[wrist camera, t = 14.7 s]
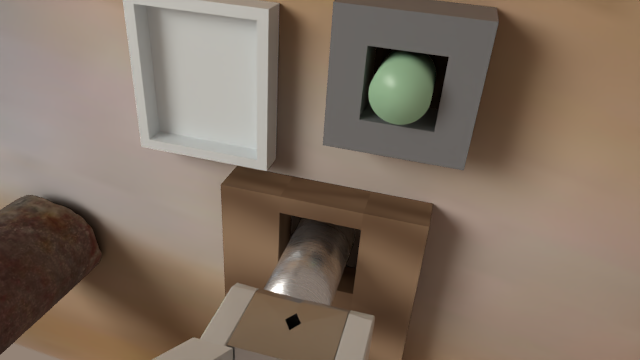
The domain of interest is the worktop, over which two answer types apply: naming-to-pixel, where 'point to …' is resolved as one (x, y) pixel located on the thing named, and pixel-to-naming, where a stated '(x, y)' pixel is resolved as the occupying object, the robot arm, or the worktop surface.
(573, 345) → the worktop surface
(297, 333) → the robot arm
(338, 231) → the cylinder
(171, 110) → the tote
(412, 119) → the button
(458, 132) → the grey square holed block
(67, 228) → the brown rounded piece
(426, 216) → the wooden holder frame
